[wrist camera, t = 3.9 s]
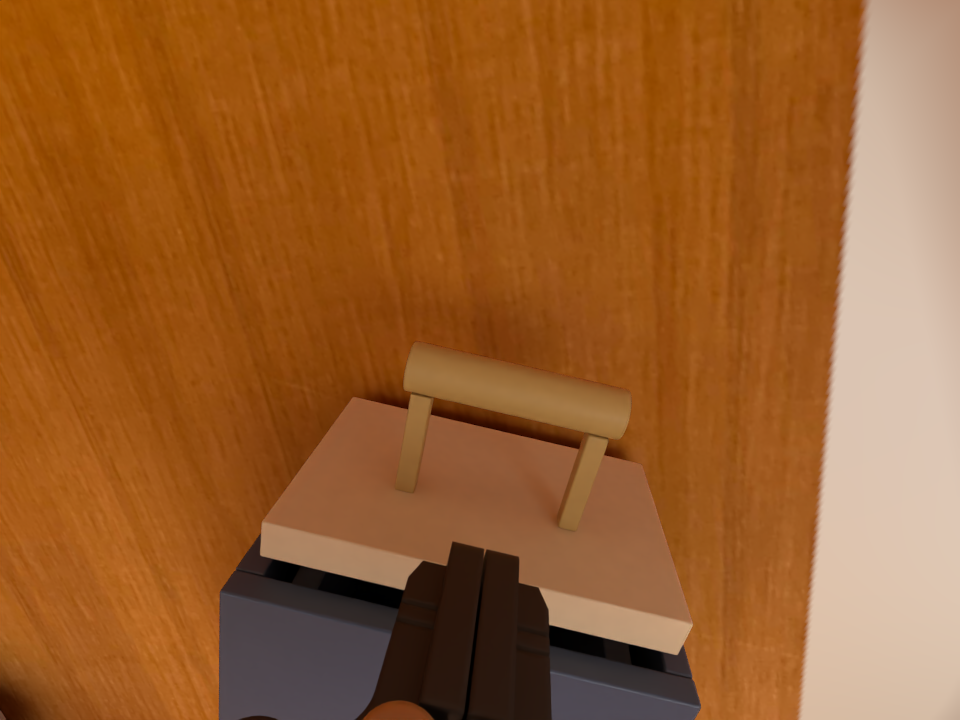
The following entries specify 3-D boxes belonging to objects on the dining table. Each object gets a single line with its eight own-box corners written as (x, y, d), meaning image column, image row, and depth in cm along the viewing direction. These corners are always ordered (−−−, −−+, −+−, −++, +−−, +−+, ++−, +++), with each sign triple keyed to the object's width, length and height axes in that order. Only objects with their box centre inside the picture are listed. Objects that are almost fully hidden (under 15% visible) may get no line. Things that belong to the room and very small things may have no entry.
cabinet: (341, 418, 22) (218, 591, 13) (639, 488, 22) (703, 707, 13) (314, 656, 27) (216, 880, 19) (549, 712, 27) (553, 964, 19)
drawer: (367, 279, 18) (268, 358, 12) (686, 352, 18) (772, 475, 11) (323, 636, 26) (246, 813, 19) (552, 691, 25) (556, 889, 19)
